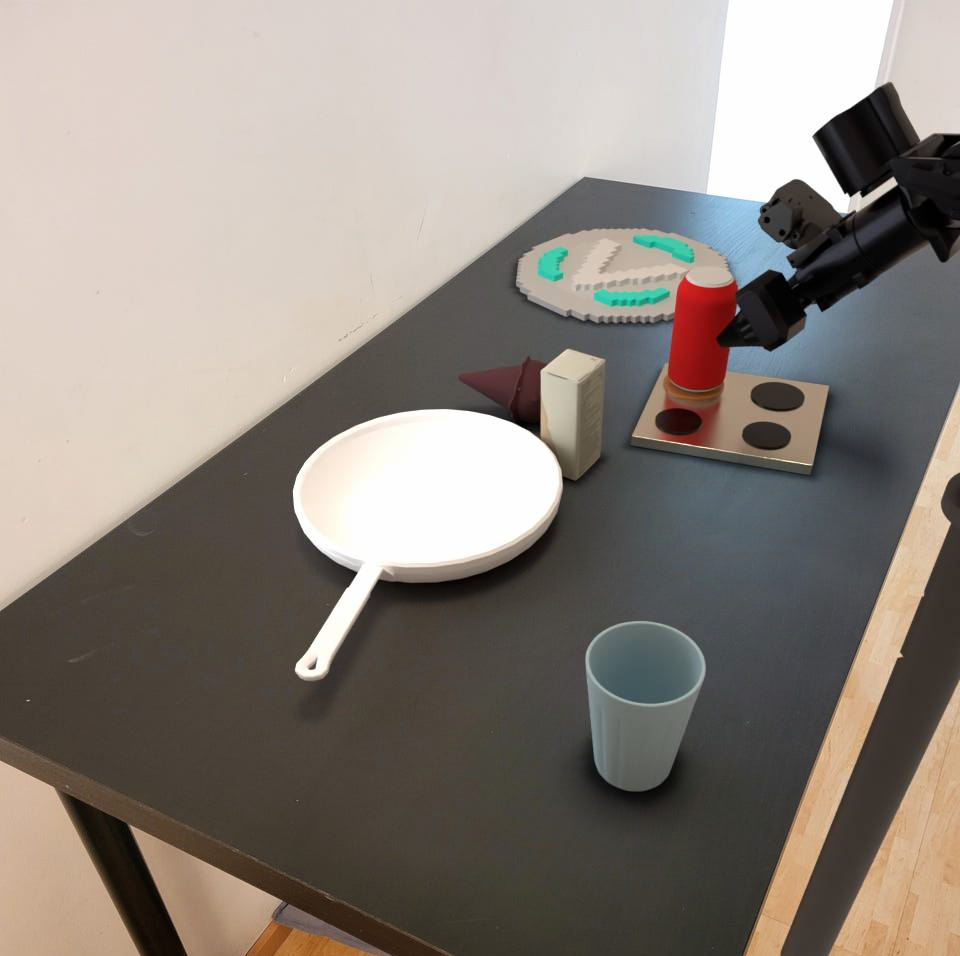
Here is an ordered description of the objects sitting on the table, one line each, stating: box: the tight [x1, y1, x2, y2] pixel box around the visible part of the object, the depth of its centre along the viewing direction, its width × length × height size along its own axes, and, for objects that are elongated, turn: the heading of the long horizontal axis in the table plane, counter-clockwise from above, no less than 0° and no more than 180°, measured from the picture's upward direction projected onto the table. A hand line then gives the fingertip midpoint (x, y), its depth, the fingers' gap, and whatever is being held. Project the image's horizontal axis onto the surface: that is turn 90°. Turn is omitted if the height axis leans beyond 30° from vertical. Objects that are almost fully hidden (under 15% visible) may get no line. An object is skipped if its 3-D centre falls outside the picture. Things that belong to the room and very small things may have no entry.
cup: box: [584, 620, 707, 792], centre depth 64 cm, size 8×8×10 cm
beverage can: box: [668, 266, 739, 393], centre depth 98 cm, size 6×6×12 cm
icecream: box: [457, 355, 549, 424], centre depth 99 cm, size 7×7×15 cm
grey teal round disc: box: [515, 227, 732, 324], centre depth 125 cm, size 28×28×2 cm
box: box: [540, 348, 606, 481], centre depth 91 cm, size 5×4×11 cm
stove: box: [630, 362, 830, 476], centre depth 99 cm, size 18×16×1 cm
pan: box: [292, 408, 564, 682], centre depth 83 cm, size 25×39×4 cm, turn 162°
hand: (742, 325), depth 95 cm, fingers open, 9 cm apart
